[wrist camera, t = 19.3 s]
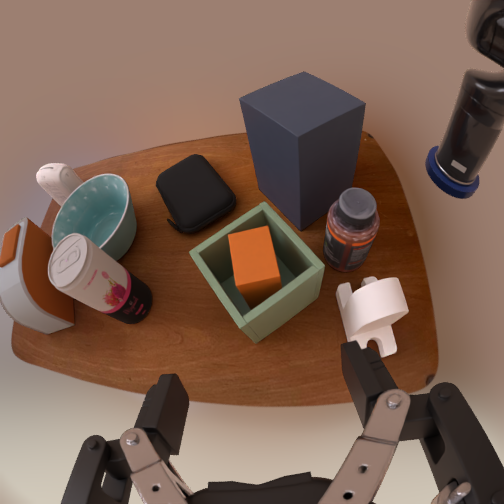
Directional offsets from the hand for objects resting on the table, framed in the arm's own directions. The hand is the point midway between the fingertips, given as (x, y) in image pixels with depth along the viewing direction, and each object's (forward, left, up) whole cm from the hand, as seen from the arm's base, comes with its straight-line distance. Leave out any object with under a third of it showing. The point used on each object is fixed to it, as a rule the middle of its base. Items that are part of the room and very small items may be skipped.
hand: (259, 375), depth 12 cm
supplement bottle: (-16, -8, -20) cm, 27 cm away
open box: (-5, -10, -20) cm, 23 cm away
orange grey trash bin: (+25, -32, -20) cm, 45 cm away
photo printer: (+15, -48, -20) cm, 54 cm away
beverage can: (+11, -20, -20) cm, 31 cm away
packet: (-5, -10, -19) cm, 22 cm away
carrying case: (-5, -30, -20) cm, 37 cm away
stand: (-19, -19, -20) cm, 34 cm away
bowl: (+11, -33, -20) cm, 40 cm away
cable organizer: (-12, +1, -20) cm, 24 cm away
